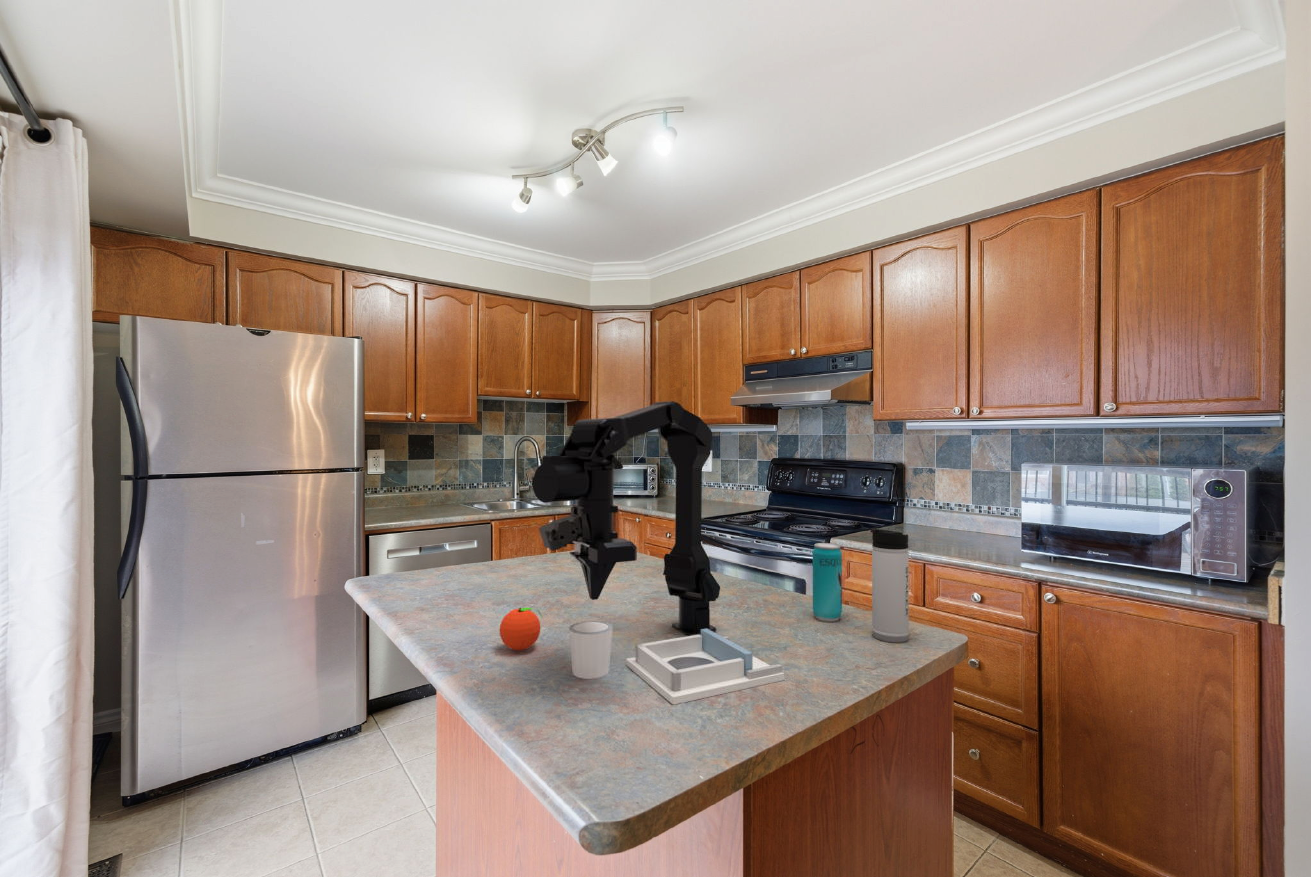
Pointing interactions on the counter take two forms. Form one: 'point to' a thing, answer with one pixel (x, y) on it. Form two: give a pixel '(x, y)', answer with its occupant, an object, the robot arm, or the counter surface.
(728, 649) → the gate
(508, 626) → the clementine
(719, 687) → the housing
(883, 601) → the travel mug
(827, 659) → the counter surface
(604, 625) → the white cup
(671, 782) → the counter surface
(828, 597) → the beverage can
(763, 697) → the counter surface
